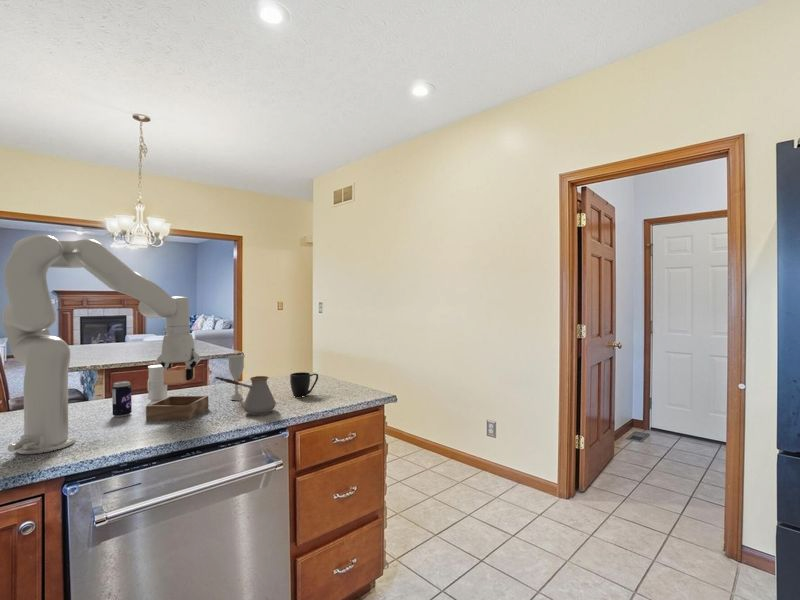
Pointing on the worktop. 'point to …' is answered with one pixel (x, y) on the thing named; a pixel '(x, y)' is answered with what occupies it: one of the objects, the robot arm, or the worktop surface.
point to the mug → (301, 383)
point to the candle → (156, 384)
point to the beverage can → (121, 398)
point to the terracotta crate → (176, 375)
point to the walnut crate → (177, 408)
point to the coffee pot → (256, 396)
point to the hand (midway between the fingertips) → (179, 379)
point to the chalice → (236, 372)
